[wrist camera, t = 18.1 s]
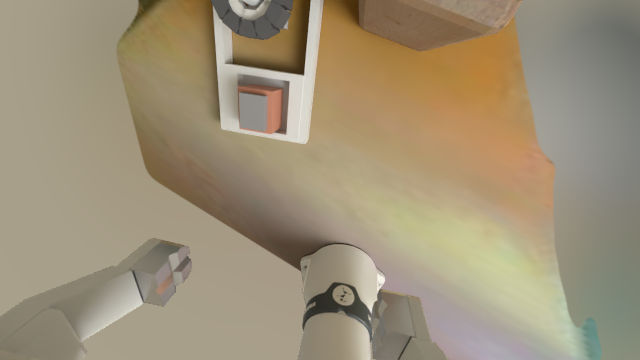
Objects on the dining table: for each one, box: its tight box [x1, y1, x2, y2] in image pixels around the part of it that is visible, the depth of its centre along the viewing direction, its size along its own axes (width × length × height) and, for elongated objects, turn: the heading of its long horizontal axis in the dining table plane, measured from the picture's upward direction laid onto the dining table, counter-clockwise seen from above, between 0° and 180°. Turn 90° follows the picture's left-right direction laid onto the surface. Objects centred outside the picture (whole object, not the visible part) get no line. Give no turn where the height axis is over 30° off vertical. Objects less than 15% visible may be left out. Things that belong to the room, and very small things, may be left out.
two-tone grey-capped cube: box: [238, 84, 283, 134], centre depth 35 cm, size 6×5×6 cm
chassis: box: [213, 0, 324, 144], centre depth 31 cm, size 22×14×9 cm, turn 173°
